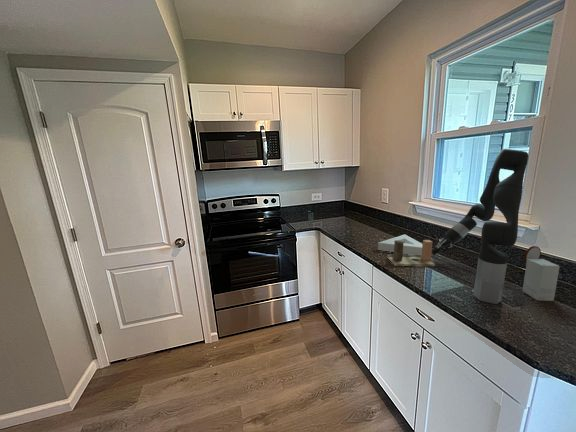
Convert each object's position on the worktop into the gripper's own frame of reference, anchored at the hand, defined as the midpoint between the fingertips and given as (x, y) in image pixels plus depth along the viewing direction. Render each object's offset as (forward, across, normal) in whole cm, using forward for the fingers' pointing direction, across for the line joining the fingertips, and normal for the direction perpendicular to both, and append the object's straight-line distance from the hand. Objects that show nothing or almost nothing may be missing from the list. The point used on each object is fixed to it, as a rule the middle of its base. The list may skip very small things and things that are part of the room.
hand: (432, 253), depth 142 cm
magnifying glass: (-15, +30, +23) cm, 41 cm away
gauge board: (+12, 0, -5) cm, 13 cm away
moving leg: (+5, -1, 0) cm, 5 cm away
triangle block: (+8, -25, 0) cm, 27 cm away
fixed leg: (+16, -1, -11) cm, 20 cm away
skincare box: (-14, +37, +22) cm, 45 cm away
